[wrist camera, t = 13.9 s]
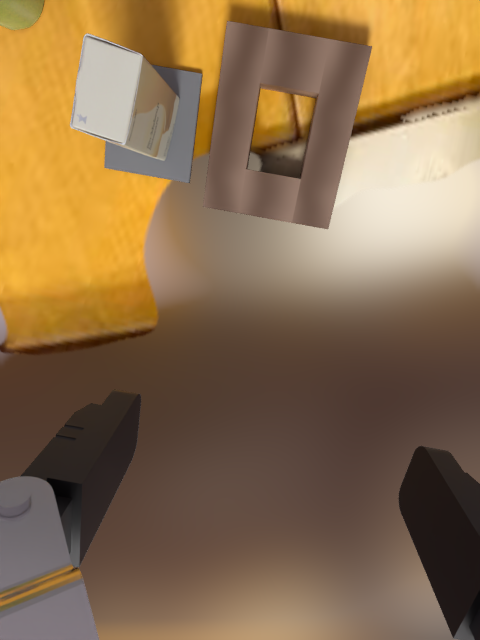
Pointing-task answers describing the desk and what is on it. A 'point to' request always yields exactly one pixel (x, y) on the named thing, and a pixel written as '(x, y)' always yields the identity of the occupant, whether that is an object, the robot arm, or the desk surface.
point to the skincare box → (123, 99)
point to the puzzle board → (325, 131)
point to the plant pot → (19, 13)
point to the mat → (182, 136)
